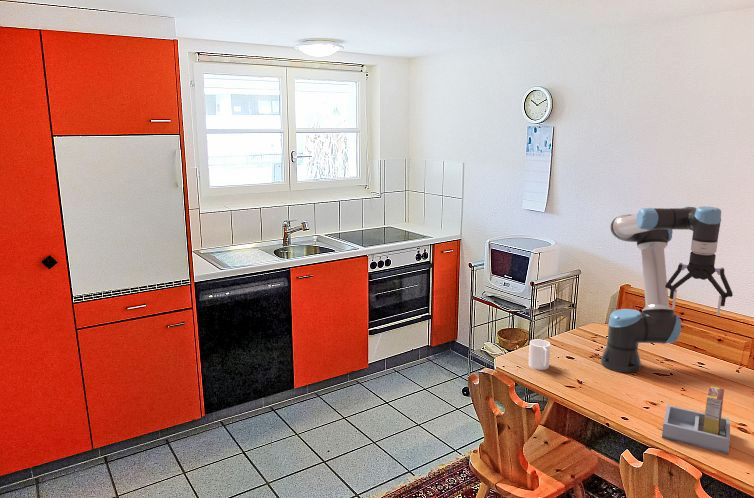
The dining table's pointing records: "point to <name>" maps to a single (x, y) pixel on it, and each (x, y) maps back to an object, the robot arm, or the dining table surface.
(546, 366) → the cup
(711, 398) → the candy box
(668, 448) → the dining table surface
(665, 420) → the bin
